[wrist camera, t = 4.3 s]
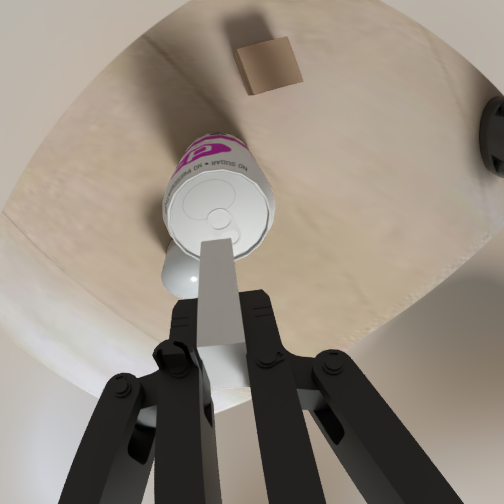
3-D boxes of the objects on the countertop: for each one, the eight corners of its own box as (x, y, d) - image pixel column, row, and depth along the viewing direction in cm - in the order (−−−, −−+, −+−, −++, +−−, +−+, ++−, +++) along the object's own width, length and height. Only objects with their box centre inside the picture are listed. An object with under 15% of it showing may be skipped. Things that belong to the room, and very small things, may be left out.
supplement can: (169, 152, 30) (135, 197, 17) (234, 119, 29) (250, 138, 16) (201, 209, 34) (195, 285, 21) (263, 180, 33) (296, 242, 20)
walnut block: (276, 44, 25) (287, 36, 20) (290, 83, 27) (303, 81, 23) (233, 56, 25) (236, 49, 21) (248, 95, 28) (254, 95, 23)
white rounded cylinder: (209, 228, 36) (208, 253, 30) (215, 267, 39) (216, 295, 34) (163, 235, 35) (155, 260, 30) (173, 272, 38) (168, 301, 33)
